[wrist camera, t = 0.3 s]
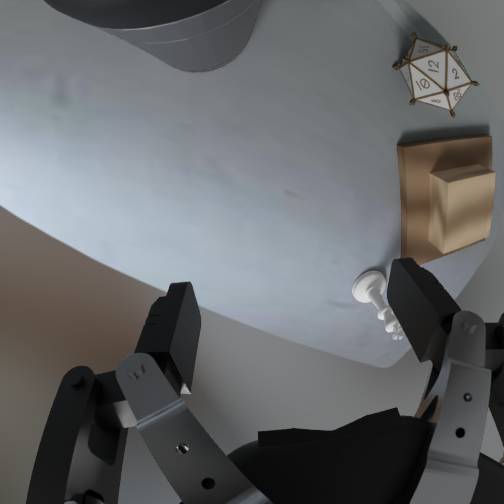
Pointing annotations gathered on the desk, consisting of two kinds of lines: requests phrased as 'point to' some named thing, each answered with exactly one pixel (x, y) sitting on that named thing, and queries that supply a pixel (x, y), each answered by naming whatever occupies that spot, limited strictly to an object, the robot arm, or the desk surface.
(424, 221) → the walnut base
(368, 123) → the desk surface
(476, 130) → the desk surface
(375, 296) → the chess piece
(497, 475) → the robot arm
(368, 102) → the desk surface
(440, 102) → the game die
